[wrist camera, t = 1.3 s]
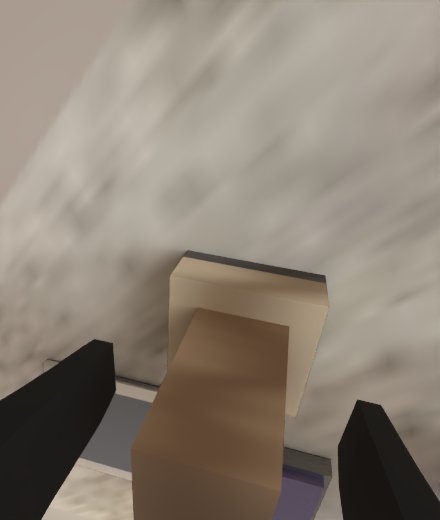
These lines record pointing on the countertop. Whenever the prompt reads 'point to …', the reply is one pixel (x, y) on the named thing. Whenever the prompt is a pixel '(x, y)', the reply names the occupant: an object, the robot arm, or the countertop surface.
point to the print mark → (117, 427)
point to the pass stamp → (226, 389)
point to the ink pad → (302, 485)
